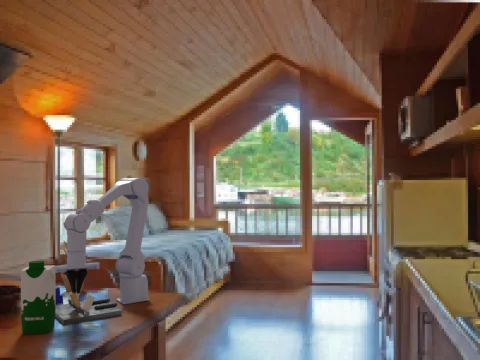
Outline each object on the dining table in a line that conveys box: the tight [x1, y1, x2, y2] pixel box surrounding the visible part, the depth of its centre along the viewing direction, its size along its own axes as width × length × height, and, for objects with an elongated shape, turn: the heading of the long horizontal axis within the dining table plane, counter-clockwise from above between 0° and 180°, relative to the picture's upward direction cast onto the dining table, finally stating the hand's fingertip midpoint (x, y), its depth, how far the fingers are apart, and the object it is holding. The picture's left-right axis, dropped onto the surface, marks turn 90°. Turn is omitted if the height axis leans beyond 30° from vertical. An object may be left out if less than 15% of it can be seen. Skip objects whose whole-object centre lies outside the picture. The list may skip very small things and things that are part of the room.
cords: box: [92, 298, 118, 309], centre depth 155 cm, size 8×8×1 cm
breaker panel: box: [55, 298, 123, 326], centre depth 152 cm, size 18×20×3 cm
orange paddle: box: [68, 292, 81, 307], centre depth 150 cm, size 1×4×4 cm, turn 35°
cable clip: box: [55, 286, 64, 305], centre depth 166 cm, size 12×4×6 cm, turn 68°
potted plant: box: [60, 240, 89, 293], centre depth 184 cm, size 10×10×25 cm
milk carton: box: [20, 260, 56, 335], centre depth 134 cm, size 9×9×20 cm
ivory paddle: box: [82, 293, 96, 311], centre depth 145 cm, size 1×4×4 cm, turn 35°
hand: (76, 293), depth 150 cm, fingers closed
